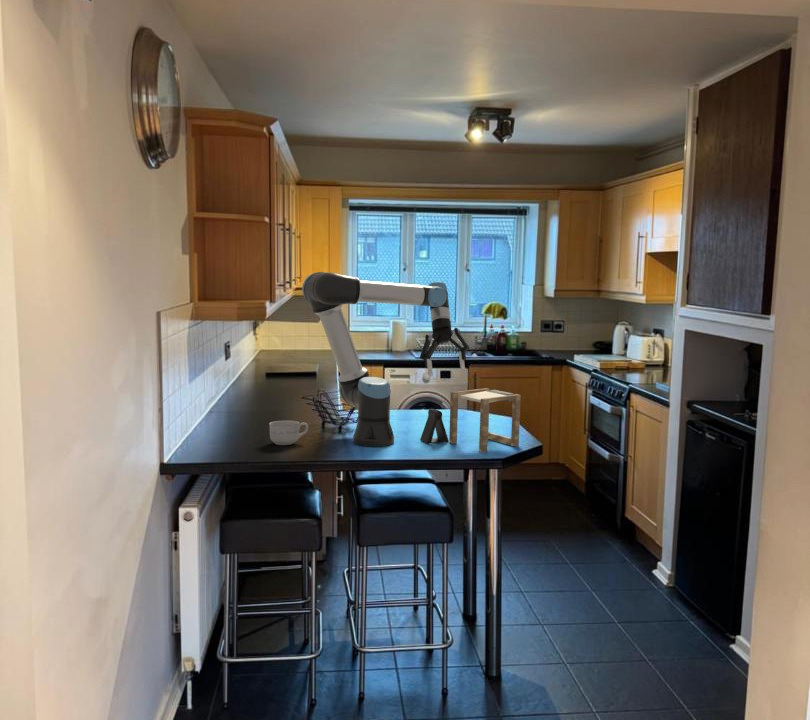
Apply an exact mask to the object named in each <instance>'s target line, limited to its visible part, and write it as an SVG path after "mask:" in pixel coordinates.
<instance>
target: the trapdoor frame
mask: <svg viewBox="0 0 810 720" xmlns="http://www.w3.org/2000/svg"><path fill="white" fill-rule="evenodd" d="M490 390H491V389H490V388H488V387H487V388H486V387H485V388H477V389H467V390H461V391H450V397H449V398H450V401H449V402H450V403H449V438H448V440H449V442H448V443H449V444H452V445H455V444H457V443H458V418H459V417H458V415H459V396H460V395H466V394H472V393H477V392H483V391H490ZM521 397H522V396H521V394H518V393H515V394H514V393H513V395H508V396H500V397H492V398H482V399H481V403H479V405H480V411H479V438H478V440H479V443H478V452H479V453H481V452H482V454H484V452H485V453H487V452H488V440H489V439H490V441H493V440H494V441H493V442H497V443H501V444H505V445H507V444H508V445H507V446H510V447H513V446H517V447H520V446H519V445H520V426H521V425H520V424H521V422H520V421H521V399H522V398H521ZM509 399H513V401H512V409H511V410H512V413H511V433H510V434H511V435H510V436H511V437H508V436H505V435H501V434H498V433H494V432H491V431H489V429H490V428H489V423H490V403H489V402H491V403H494V402H493V401H496V402H501V401H502V400H509ZM454 443H455V444H454Z"/></svg>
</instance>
